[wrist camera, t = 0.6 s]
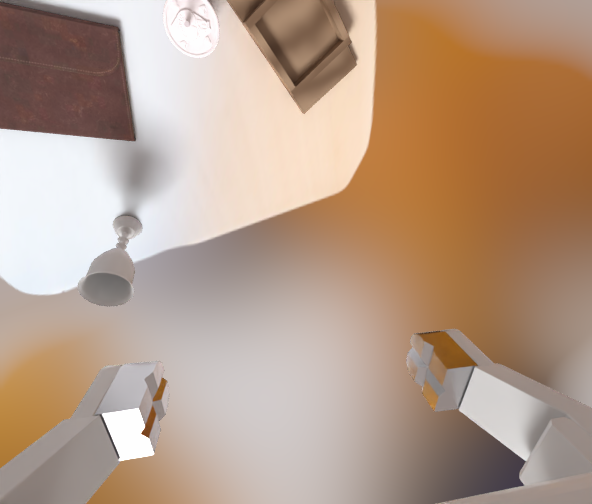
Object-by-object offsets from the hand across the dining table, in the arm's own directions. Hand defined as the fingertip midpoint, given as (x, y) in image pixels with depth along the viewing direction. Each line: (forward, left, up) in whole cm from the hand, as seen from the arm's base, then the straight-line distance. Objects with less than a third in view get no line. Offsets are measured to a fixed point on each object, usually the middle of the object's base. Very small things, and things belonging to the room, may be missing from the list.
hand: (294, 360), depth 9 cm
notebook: (-16, -15, -50) cm, 54 cm away
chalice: (+5, -29, -49) cm, 57 cm away
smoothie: (-8, +5, -49) cm, 50 cm away
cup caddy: (+2, +17, -49) cm, 52 cm away
